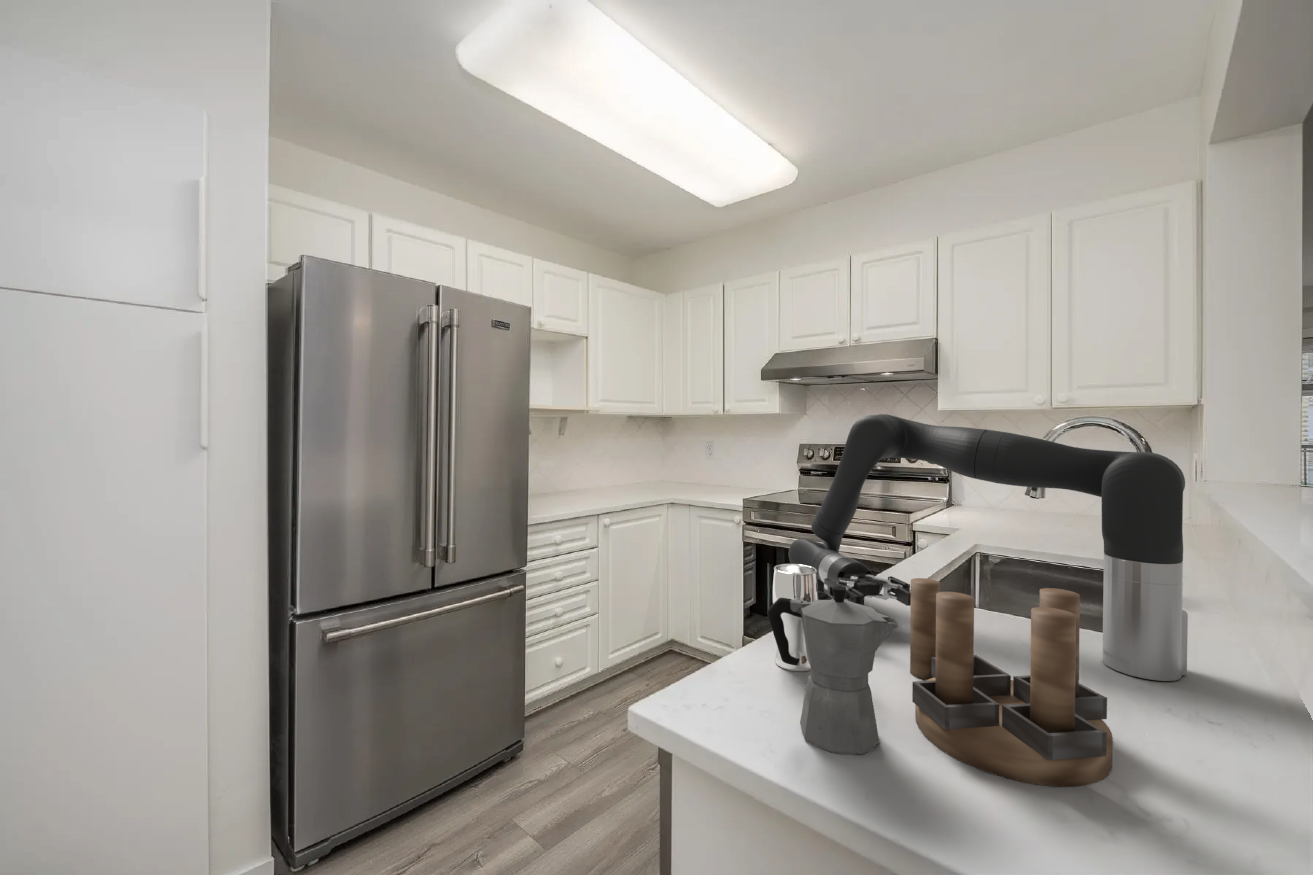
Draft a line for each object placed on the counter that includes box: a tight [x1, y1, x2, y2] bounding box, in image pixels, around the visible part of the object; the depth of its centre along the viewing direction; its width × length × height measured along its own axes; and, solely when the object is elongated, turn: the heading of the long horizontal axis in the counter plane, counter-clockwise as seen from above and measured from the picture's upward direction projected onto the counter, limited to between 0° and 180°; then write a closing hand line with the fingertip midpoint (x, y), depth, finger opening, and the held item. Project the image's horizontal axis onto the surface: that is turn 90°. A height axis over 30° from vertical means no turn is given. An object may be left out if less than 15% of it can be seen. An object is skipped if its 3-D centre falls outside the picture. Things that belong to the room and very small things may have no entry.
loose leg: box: [909, 577, 941, 681], centre depth 86 cm, size 4×4×14 cm
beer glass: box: [772, 563, 819, 672], centre depth 89 cm, size 7×7×15 cm
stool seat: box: [911, 587, 1114, 788], centre depth 69 cm, size 20×20×17 cm
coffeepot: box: [767, 586, 899, 756], centre depth 69 cm, size 15×9×18 cm, turn 62°
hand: (886, 600), depth 97 cm, fingers open, 8 cm apart
